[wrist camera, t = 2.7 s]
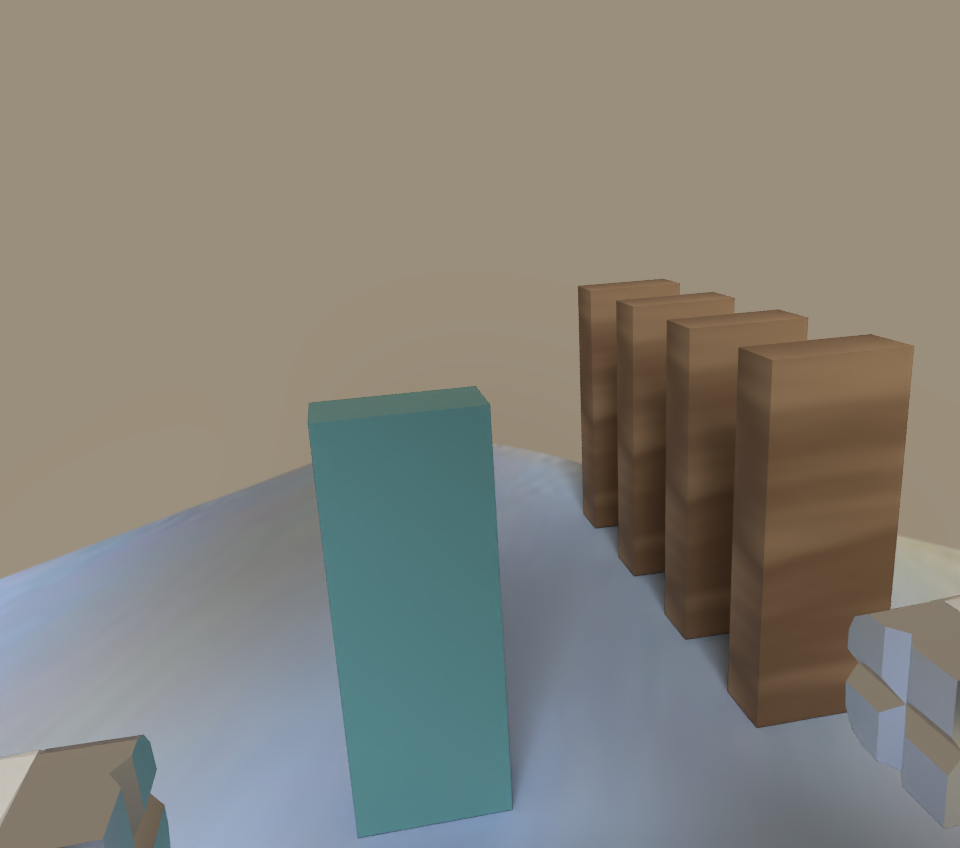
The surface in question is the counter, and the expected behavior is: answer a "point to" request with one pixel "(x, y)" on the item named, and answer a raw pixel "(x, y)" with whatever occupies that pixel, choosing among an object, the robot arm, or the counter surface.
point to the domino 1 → (415, 603)
